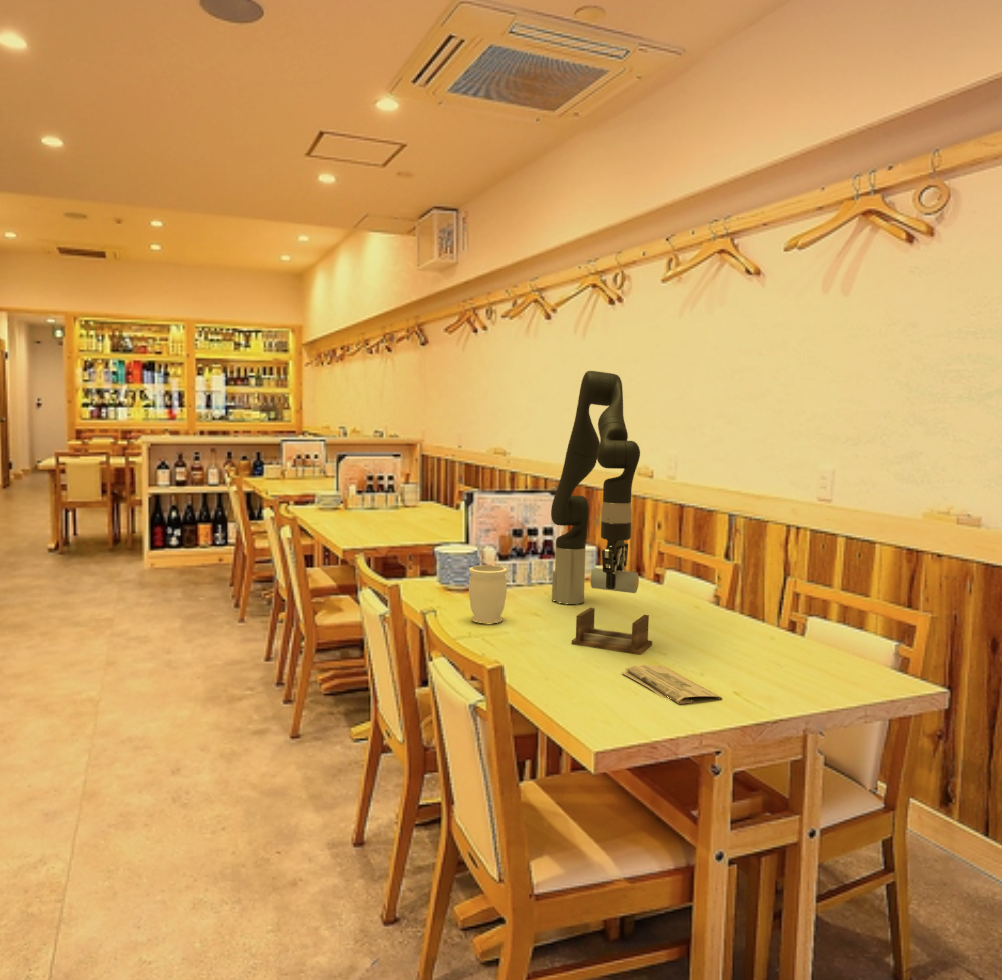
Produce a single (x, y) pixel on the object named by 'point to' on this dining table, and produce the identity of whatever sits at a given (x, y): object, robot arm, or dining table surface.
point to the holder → (611, 635)
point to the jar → (487, 593)
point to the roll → (623, 581)
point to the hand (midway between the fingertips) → (614, 586)
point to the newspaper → (667, 683)
